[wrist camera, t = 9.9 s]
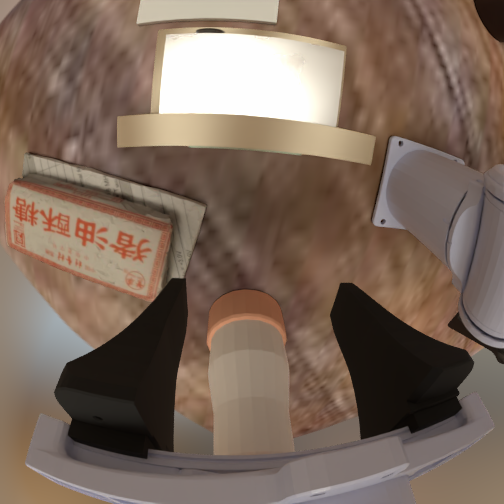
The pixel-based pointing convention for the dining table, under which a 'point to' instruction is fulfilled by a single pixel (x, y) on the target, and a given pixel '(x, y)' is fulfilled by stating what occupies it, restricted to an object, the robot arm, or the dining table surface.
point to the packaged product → (101, 226)
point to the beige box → (241, 121)
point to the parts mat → (207, 11)
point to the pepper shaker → (249, 375)
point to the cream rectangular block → (251, 77)
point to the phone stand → (457, 324)
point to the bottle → (492, 16)
